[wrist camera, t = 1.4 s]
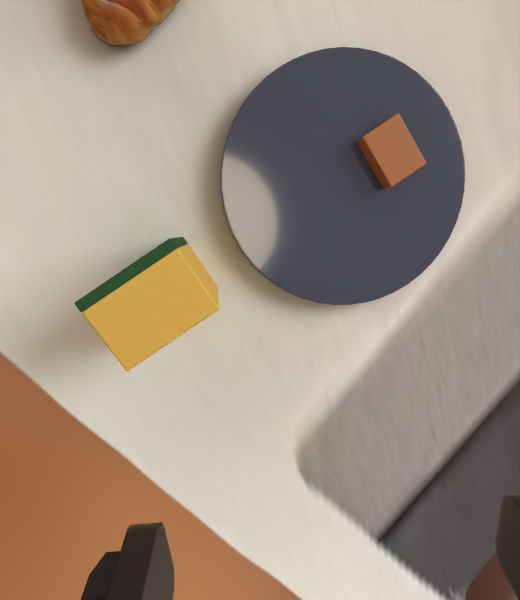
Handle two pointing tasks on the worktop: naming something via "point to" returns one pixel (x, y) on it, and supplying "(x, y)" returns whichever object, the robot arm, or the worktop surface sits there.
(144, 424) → the worktop surface
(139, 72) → the worktop surface
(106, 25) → the pastry
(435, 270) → the worktop surface
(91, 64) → the worktop surface
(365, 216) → the plate
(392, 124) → the orange slab
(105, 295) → the sponge
